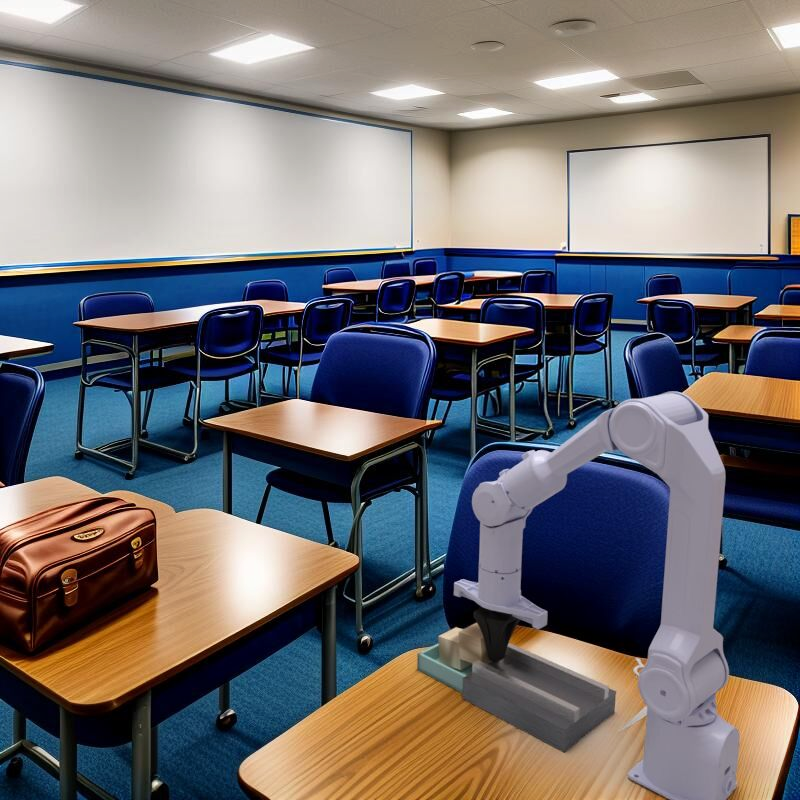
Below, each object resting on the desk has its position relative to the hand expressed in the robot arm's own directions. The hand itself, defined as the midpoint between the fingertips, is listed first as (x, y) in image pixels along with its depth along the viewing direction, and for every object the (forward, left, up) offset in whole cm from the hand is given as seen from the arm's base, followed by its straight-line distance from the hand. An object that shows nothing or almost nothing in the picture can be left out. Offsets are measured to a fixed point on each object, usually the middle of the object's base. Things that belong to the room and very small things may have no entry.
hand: (496, 658), depth 103 cm
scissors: (-17, -13, -5) cm, 22 cm away
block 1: (+5, 0, -1) cm, 5 cm away
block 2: (+3, 0, -1) cm, 3 cm away
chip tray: (+6, 0, -4) cm, 7 cm away
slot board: (-7, 0, -4) cm, 8 cm away
